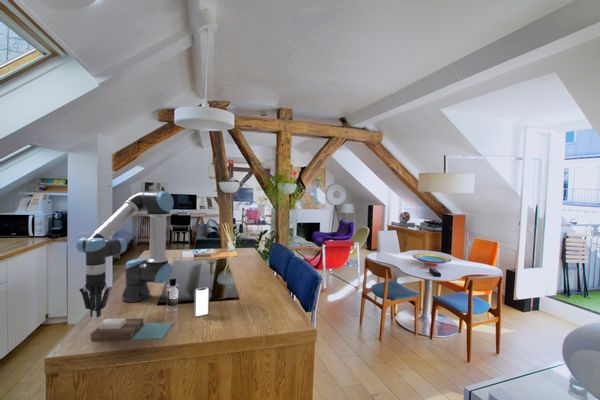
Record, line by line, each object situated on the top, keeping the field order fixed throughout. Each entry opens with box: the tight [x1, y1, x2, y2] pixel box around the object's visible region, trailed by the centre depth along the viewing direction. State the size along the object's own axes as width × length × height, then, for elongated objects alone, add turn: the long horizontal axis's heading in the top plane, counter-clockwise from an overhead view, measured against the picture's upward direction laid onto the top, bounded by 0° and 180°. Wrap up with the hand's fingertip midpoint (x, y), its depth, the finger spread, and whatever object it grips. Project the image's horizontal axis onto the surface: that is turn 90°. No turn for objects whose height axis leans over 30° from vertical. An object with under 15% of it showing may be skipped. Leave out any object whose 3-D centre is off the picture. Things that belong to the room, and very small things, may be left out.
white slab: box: [98, 318, 127, 329], centre depth 141 cm, size 6×9×2 cm, turn 96°
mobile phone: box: [193, 286, 210, 318], centre depth 161 cm, size 8×1×15 cm, turn 124°
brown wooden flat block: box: [90, 317, 144, 342], centre depth 141 cm, size 15×16×3 cm
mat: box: [131, 322, 174, 341], centre depth 143 cm, size 15×13×1 cm
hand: (95, 323), depth 140 cm, fingers closed
